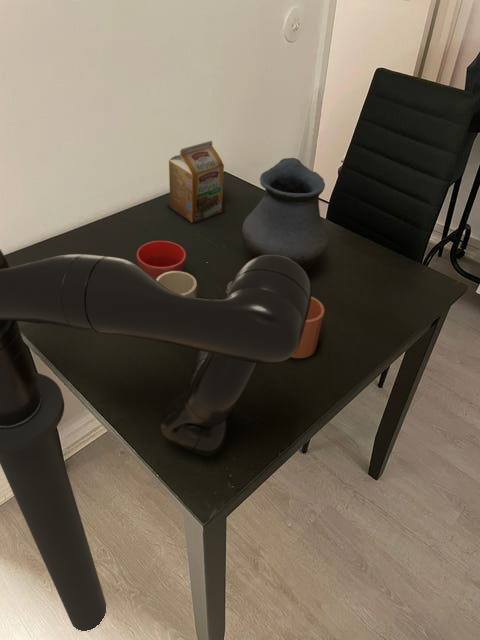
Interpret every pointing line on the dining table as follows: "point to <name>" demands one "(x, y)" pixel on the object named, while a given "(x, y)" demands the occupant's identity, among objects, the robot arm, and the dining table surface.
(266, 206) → the dark grey vase
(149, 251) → the flower pot
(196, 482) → the dining table surface
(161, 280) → the cream cup
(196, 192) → the milk carton
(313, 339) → the terracotta cup
